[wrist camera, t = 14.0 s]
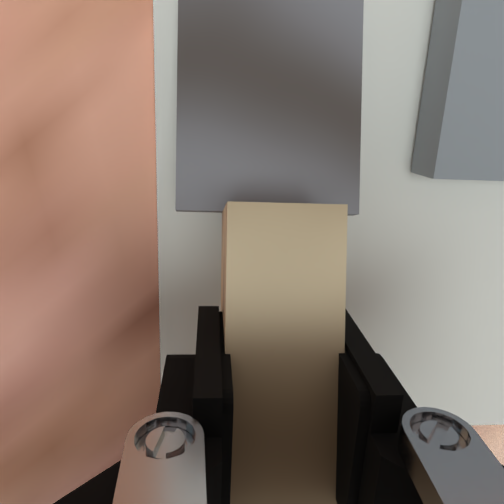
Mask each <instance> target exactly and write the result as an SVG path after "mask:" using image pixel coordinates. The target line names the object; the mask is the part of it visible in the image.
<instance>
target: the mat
mask: <svg viewBox="0 0 504 504" xmlns="http://www.w3.org/2000/svg"><path fill="white" fill-rule="evenodd" d="M435 2H436V0H364V10H363V57H362V104H361V151H360V198H359V215H353V216H347V260H346V310H347V311H348V313H349V314H350V316H351V317H352V319H353V320H354V322H355V323H356V325H357V326H358V328H359V329H360V331H361V332H362V334H363V335H364V337H365V338H366V340H367V341H368V342H369V344H370V345H371V347H372V348H373V350H374V351H375V353H378V354H380V355H381V356H382V357H383V358H384V360H385V361H386V363H387V364H388V366H389V367H390V368H391V370H392V371H393V373H394V374H395V376H396V377H397V379H398V380H399V381H400V383H401V384H402V386H403V387H404V389H405V390H406V392H407V393H408V395H409V396H410V397H411V399H412V400H413V402H414V403H415V405H416V406H417V408H418V407H431V408H437V409H441V410H445V411H448V412H450V413H452V414H454V415H456V416H458V417H460V418H461V419H463V420H464V421H466V422H467V423H468V424H469V425H502V424H504V181H484V180H453V179H432V178H429V177H425V176H422V175H418V174H415V173H411V167H412V160H413V153H414V146H415V139H416V133H417V126H418V119H419V112H420V105H421V98H422V91H423V85H424V78H425V71H426V64H427V57H428V50H429V44H430V37H431V30H432V23H433V16H434V9H435ZM153 18H154V69H155V120H156V171H157V222H158V272H159V323H160V374H161V382H162V377H163V371H164V366H165V360H166V356H167V355H170V354H196V338H197V323H198V307H199V306H219V311H221V250H222V213H213V212H177V211H176V210H175V202H176V124H177V46H178V0H153Z"/></svg>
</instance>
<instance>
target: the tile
mask: <svg viewBox="0 0 504 504" xmlns="http://www.w3.org/2000/svg"><path fill="white" fill-rule="evenodd" d="M411 173H415V174H418V175H422V176H425V177H429V178H432V179H453V180H484V181H504V0H436V2H435V9H434V16H433V23H432V30H431V37H430V44H429V50H428V57H427V64H426V71H425V78H424V85H423V91H422V98H421V105H420V112H419V119H418V126H417V133H416V139H415V146H414V153H413V160H412V167H411Z"/></svg>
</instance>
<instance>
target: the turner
mask: <svg viewBox="0 0 504 504" xmlns="http://www.w3.org/2000/svg"><path fill="white" fill-rule="evenodd" d="M363 10H364V0H178V46H177V124H176V202H175V210H176V211H177V212H213V213H222V250H221V311H222V312H223V329H224V345H225V354H230V356H231V368H232V381H233V398H234V411H233V438H232V465H231V492H230V504H337V501H336V458H337V412H338V367H339V353H345V308H346V260H347V216H353V215H359V198H360V151H361V104H362V57H363Z"/></svg>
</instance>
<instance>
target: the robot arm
mask: <svg viewBox="0 0 504 504" xmlns="http://www.w3.org/2000/svg"><path fill="white" fill-rule="evenodd" d="M233 411H234V398H233V381H232V368H231V356H230V354H225V345H224V329H223V312H222V311H219V306H199V307H198V323H197V338H196V354H170V355H167V356H166V360H165V366H164V371H163V377H162V382H161V388H160V394H159V399H158V405H157V410H156V413H155V414H152V415H149V416H147V417H144V418H143V419H141V420H140V421H138V422H136V423H135V424H134V425H133V426H132V427H131V429H130V430H129V431H128V434H127V436H126V438H125V443H124V448H123V453H122V458H121V461H119V462H117V463H116V464H114V465H113V466H111V467H110V468H108V469H107V470H105V471H103V472H102V473H100V474H99V475H97V476H96V477H94V478H92V479H91V480H89V481H88V482H86V483H85V484H83V485H82V486H80V487H78V488H77V489H75V490H74V491H72V492H71V493H69V494H67V495H66V496H64V497H63V498H61V499H60V500H58V501H57V502H55V503H53V504H230V492H231V465H232V438H233ZM336 501H337V504H504V466H503V465H501V464H500V463H499V461H498V460H497V459H496V457H495V456H494V455H493V453H492V452H491V451H490V449H489V448H488V447H487V445H486V444H485V443H484V441H483V440H482V439H481V438H480V436H479V435H478V434H477V432H476V431H475V430H474V429H473V428H472V427H471V426H470V425H469V424H468V423H467V422H466V421H464V420H463V419H461V418H460V417H458V416H456V415H454V414H452V413H450V412H448V411H445V410H441V409H437V408H431V407H418V408H417V406H416V405H415V403H414V402H413V400H412V399H411V397H410V396H409V395H408V393H407V392H406V390H405V389H404V387H403V386H402V384H401V383H400V381H399V380H398V379H397V377H396V376H395V374H394V373H393V371H392V370H391V368H390V367H389V366H388V364H387V363H386V361H385V360H384V358H383V357H382V356H381V355H380V354H378V353H375V351H374V350H373V348H372V347H371V345H370V344H369V342H368V341H367V340H366V338H365V337H364V335H363V334H362V332H361V331H360V329H359V328H358V326H357V325H356V323H355V322H354V320H353V319H352V317H351V316H350V314H349V313H348V311H347V310H346V308H345V353H339V367H338V412H337V458H336Z"/></svg>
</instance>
